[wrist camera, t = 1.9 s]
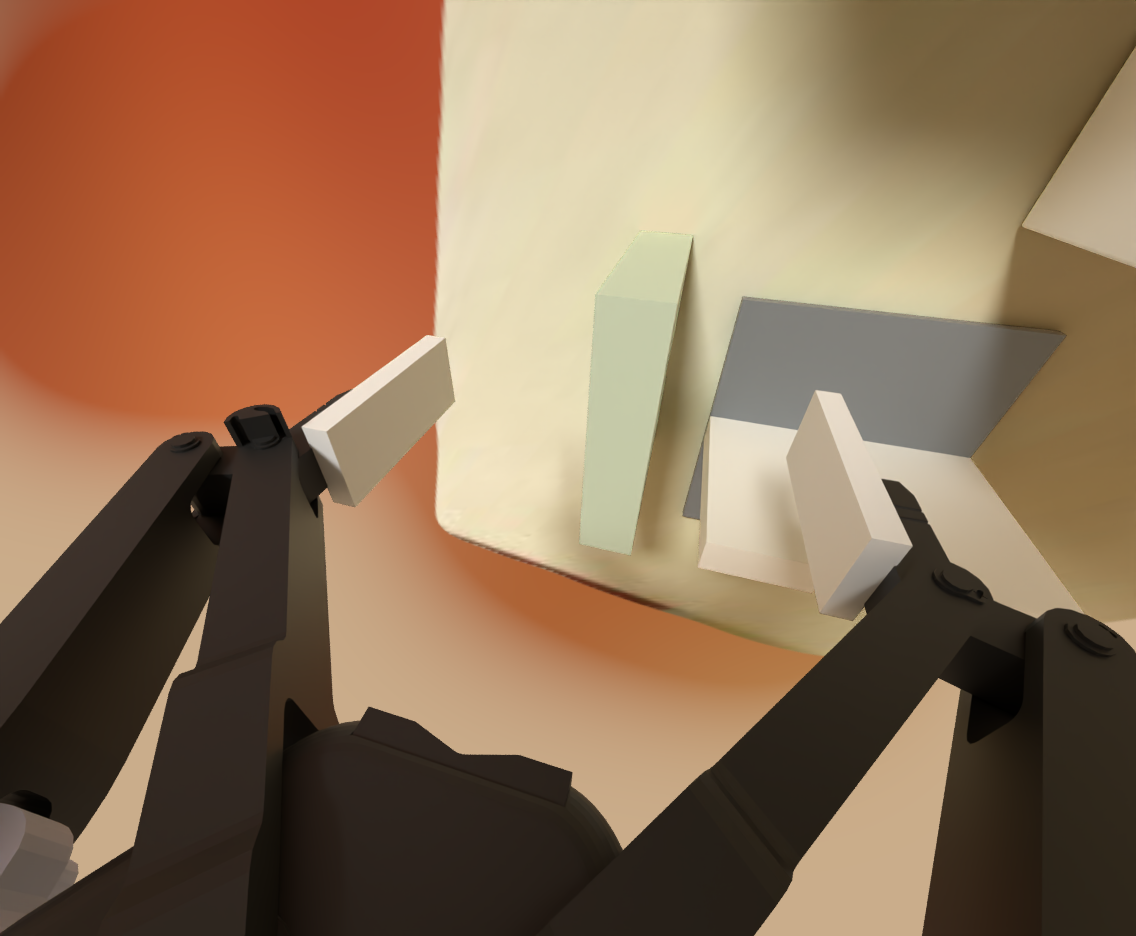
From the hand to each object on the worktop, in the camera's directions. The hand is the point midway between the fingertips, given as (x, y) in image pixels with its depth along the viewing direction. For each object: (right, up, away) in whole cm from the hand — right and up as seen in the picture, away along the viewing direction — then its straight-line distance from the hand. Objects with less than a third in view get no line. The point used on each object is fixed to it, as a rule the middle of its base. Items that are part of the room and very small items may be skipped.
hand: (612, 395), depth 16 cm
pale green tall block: (+4, +5, +13) cm, 15 cm away
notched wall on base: (+16, -1, +14) cm, 22 cm away
